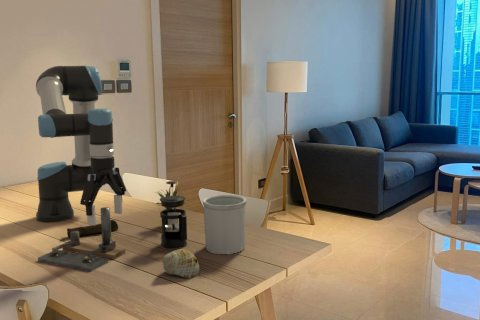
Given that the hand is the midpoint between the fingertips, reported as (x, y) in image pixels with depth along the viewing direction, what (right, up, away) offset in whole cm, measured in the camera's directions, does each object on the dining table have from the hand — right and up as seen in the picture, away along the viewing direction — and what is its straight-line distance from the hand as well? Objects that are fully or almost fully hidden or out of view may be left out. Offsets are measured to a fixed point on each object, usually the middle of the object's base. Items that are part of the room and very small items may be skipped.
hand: (105, 219), depth 162 cm
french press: (+22, -11, +11) cm, 26 cm away
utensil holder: (+40, -11, +7) cm, 42 cm away
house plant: (+16, -7, +33) cm, 37 cm away
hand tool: (-11, -9, +24) cm, 28 cm away
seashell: (+27, -15, -14) cm, 34 cm away
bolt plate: (-9, -13, -5) cm, 17 cm away
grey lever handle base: (-7, -12, +1) cm, 14 cm away
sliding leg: (-1, -11, -2) cm, 11 cm away
